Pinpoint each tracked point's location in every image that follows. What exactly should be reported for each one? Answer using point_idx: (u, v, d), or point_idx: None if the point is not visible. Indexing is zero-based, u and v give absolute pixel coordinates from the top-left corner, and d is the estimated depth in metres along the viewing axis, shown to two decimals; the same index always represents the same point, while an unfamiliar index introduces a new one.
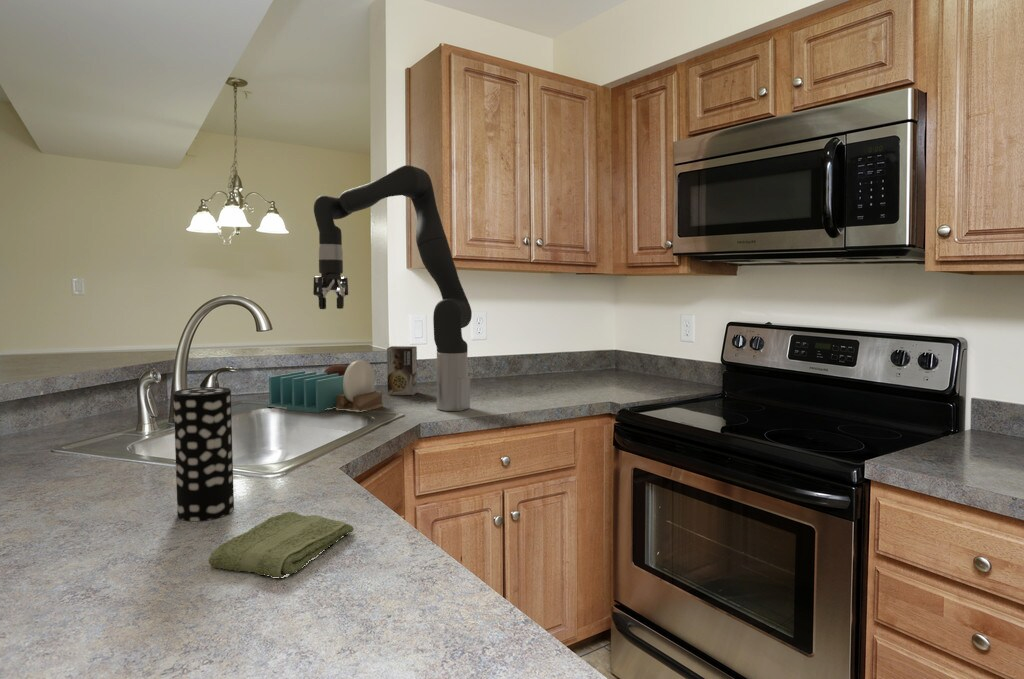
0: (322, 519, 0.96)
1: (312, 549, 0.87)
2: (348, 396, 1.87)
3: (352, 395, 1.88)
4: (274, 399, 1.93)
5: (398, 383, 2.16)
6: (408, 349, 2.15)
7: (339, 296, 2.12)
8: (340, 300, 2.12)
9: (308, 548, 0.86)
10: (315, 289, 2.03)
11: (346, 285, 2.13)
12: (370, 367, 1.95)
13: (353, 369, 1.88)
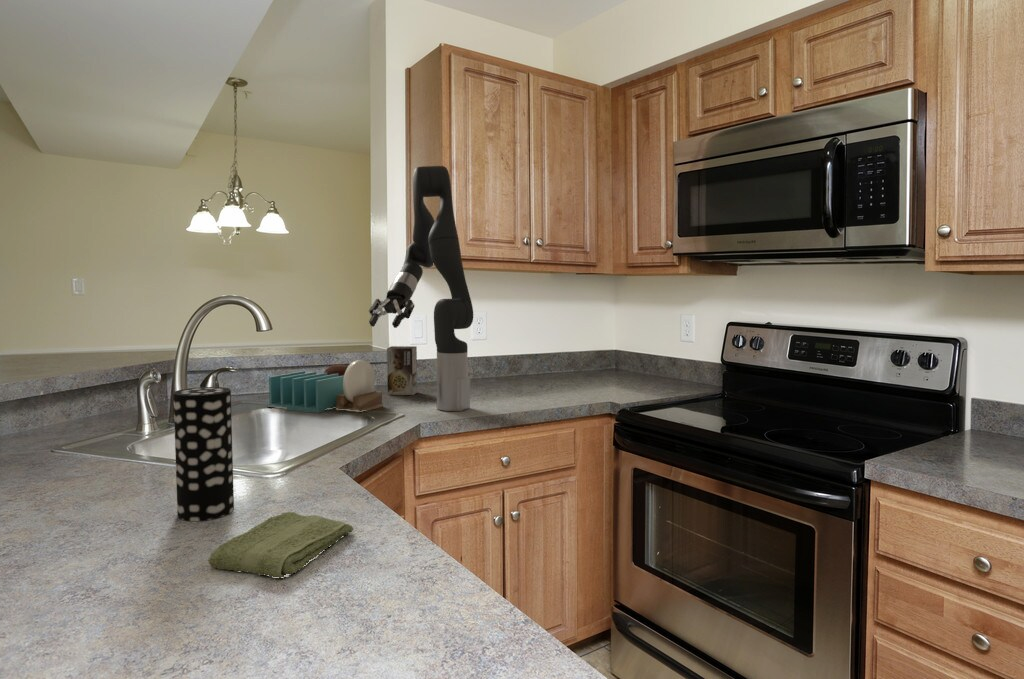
0: (322, 519, 0.96)
1: (312, 549, 0.86)
2: (348, 396, 1.87)
3: (352, 395, 1.88)
4: (274, 399, 1.93)
5: (398, 383, 2.16)
6: (408, 349, 2.15)
7: None
8: None
9: (308, 548, 0.86)
10: None
11: (407, 305, 2.03)
12: (370, 367, 1.95)
13: (353, 369, 1.88)
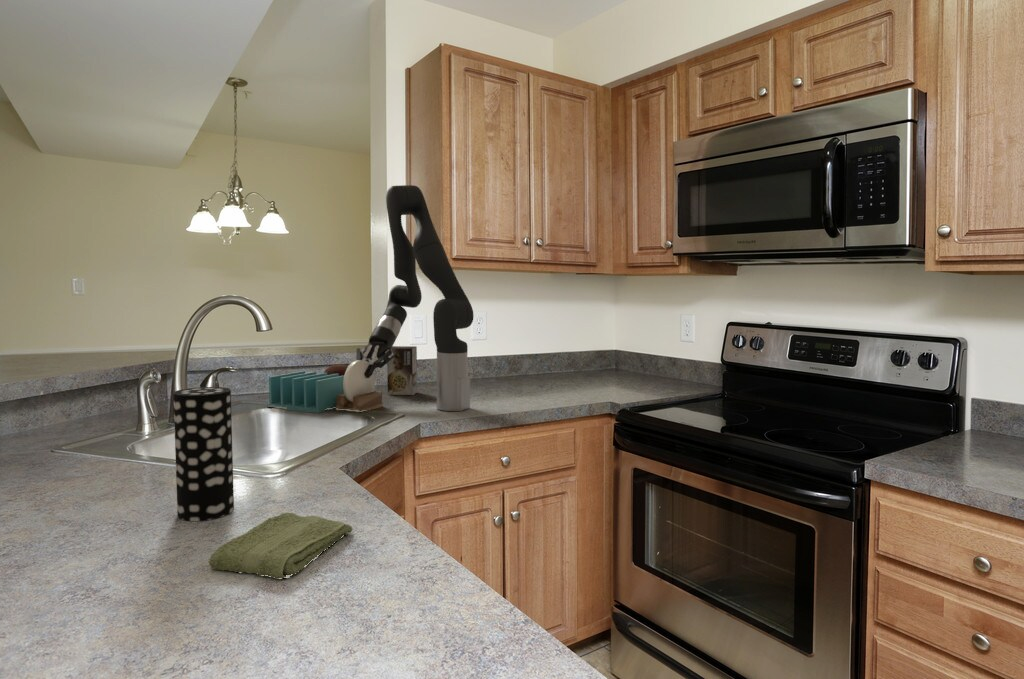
0: (321, 520, 0.96)
1: (313, 549, 0.86)
2: (348, 396, 1.87)
3: (352, 395, 1.88)
4: (274, 399, 1.93)
5: (398, 383, 2.16)
6: (408, 349, 2.15)
7: None
8: None
9: (309, 548, 0.86)
10: None
11: (383, 355, 1.95)
12: None
13: (353, 369, 1.88)
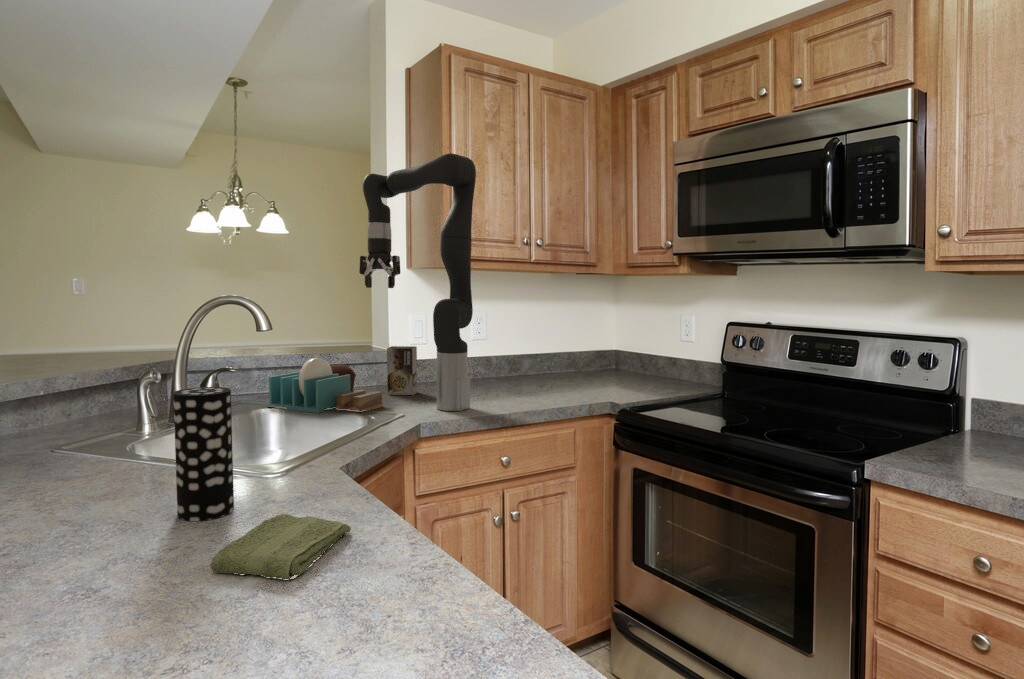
0: (319, 520, 0.95)
1: (316, 550, 0.86)
2: (302, 390, 1.89)
3: None
4: (274, 399, 1.93)
5: (398, 383, 2.16)
6: (408, 349, 2.15)
7: None
8: None
9: (312, 548, 0.86)
10: (364, 268, 2.11)
11: (393, 264, 2.04)
12: (329, 367, 1.99)
13: (311, 364, 1.91)
